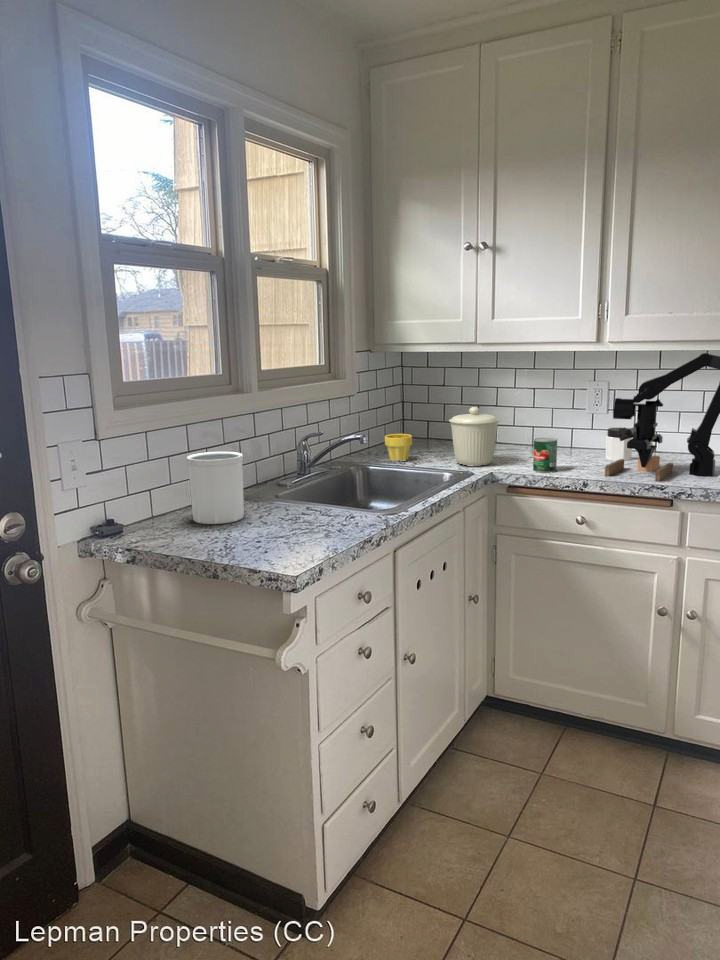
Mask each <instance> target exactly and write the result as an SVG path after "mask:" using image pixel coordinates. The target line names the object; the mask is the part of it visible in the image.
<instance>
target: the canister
mask: <svg viewBox="0 0 720 960" xmlns="http://www.w3.org/2000/svg"><path fill="white" fill-rule="evenodd" d="M468 412H469V413H467V414H465V413H464V414H458V415H454V416H453V417H452V418H450V419H448V421H449V423H450V427H451V435H452V443H453V452H454V457H455V460H456V463H457V464H458V463H459V464H458V465H460V464H463V465H462V466H464V465H473V466H472V467H482V466H481V465H485V466H489V465H490V464H491V463H492V461H493V460H494V455H495V449H496V441H497V432H498V423H499V422H500V419H499V418H497V417H496V416H495V415H493V414H486V413H480V408H479V407H476V406H473V407H470V408H469V410H468Z"/></svg>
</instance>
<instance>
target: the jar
mask: <svg viewBox="0 0 720 960" xmlns="http://www.w3.org/2000/svg"><path fill="white" fill-rule="evenodd" d="M621 428H622V427H609V428H607V433H606V434H607V435H605V457H604V458H605V459H607V460H609V461H617V460H619V459H624V462H625V461H629V460H632V453H633V452H632V451H633V449H630V448H627V442H628V441H629V440H631V439H633V437H632V438H628V439H625V440H623V441H620V438H619V437H617V435H618V433H617V432H619V429H621ZM625 428H626V429H630V428H628V427H625Z"/></svg>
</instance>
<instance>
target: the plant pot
mask: <svg viewBox="0 0 720 960" xmlns="http://www.w3.org/2000/svg"><path fill="white" fill-rule="evenodd" d="M384 445H385V446H386V447H387V448H386V449H387V452H388V457H389V460H390V459H391V460H407V459H409V455H410V454H409V453H410V449H411V446H412V445H413V435H411V434H408V433H393V434H392V433H391V434H387V435H385V436H384ZM407 461H408V460H407Z"/></svg>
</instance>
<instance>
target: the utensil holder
mask: <svg viewBox="0 0 720 960" xmlns="http://www.w3.org/2000/svg"><path fill="white" fill-rule="evenodd" d="M243 460H244V456H243V453H241V452H236V451H207V452H200V453H194V454H190V455H187V456H186V462H187V465H188V467H187V468H188V475H189V477H188V478H189V479H188V480H189V488H190V501H191V512H192V519H193V521H194V522H195V523H197V524H204V525H221V524H229V523H234V522H237V521H240V520H242V519H243V518H244V514H245V513H244V478H243V477H244V474H243Z"/></svg>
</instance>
